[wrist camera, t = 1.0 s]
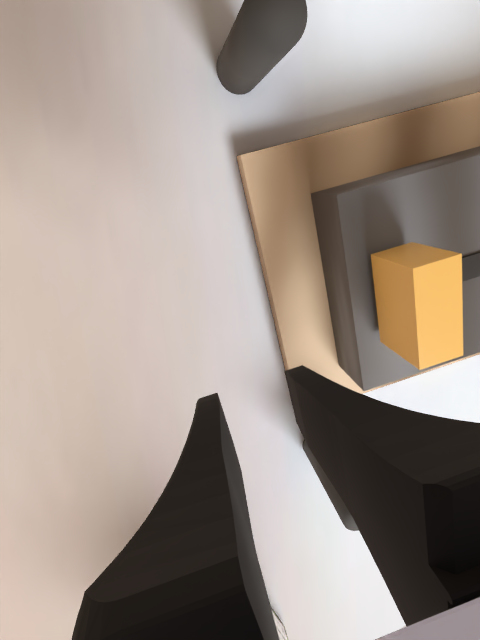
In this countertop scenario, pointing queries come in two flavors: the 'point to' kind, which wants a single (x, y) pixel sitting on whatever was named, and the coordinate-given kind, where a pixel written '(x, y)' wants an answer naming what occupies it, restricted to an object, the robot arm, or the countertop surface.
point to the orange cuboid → (419, 302)
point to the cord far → (331, 492)
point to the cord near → (259, 41)
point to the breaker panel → (294, 219)
